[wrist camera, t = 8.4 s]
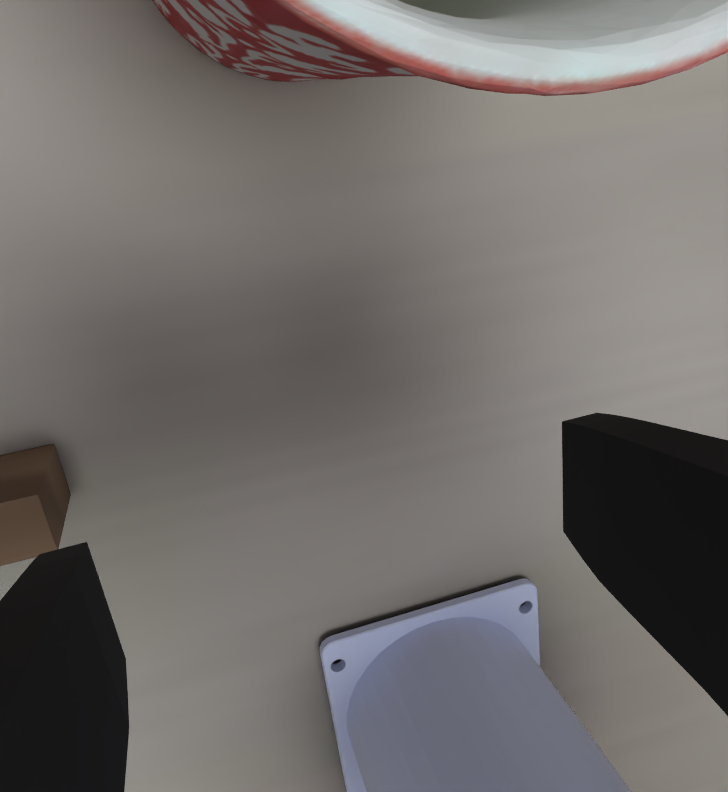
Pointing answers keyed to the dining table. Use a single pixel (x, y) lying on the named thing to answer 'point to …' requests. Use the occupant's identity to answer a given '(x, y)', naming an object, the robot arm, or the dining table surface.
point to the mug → (459, 40)
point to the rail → (31, 503)
